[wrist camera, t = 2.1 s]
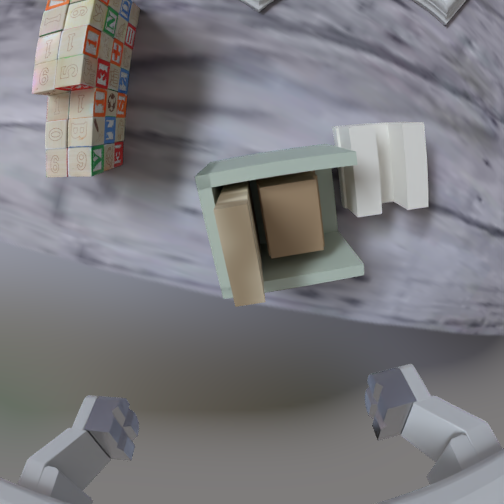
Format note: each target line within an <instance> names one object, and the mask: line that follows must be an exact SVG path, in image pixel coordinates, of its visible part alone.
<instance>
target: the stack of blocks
mask: <svg viewBox="0 0 504 504" xmlns="http://www.w3.org/2000/svg"><path fill="white" fill-rule="evenodd" d="M139 12H140V8H139V7H138V6H136V4H135V3H134V2H132V1H131V0H48V1H47V5H46V9H45V12H44V13H43V18H42V22H41V27H40V32H39V37H40V38H39V39H38V43H37V50H36V57H35V67H34V75H33V85H32V94H38V95H48V102H47V121H46V131H45V149H46V177H68V176H71V177H80V176H83V177H85V176H87V177H89V176H94V175H97V174H100V173H102V172H104V171H107V170H110V169H113V168H114V167H118V166H121V165H123V141H124V131H125V116H126V105H127V89H128V80H129V70H130V62H131V55H132V49H133V45H134V39H135V33H136V27H137V23H138V18H139Z"/></svg>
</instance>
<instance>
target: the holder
mask: <svg viewBox="0 0 504 504" xmlns="http://www.w3.org/2000/svg"><path fill="white" fill-rule="evenodd" d="M332 129H333V135H334V143H335V146H337V147H341V148H345V149H348V150H352V151H356V156H357V165H352V166H344V167H338V174H339V183H340V193H341V203H342V206H343V207H344V208H345V209H346V208H348V209H349V210H350V211H351V212H352V213H353V214H354V215H356V216H357V217H364V216H371V215H377V214H382V203H387V202H395V203H397V204H399V205H400V206H402V207H404V208H405V209H407V210H411V209H418V208H425V207H428V170H427V153H426V140H425V130H424V123H420V122H387V123H370V124H356V125H344V126H334V127H332Z"/></svg>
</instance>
